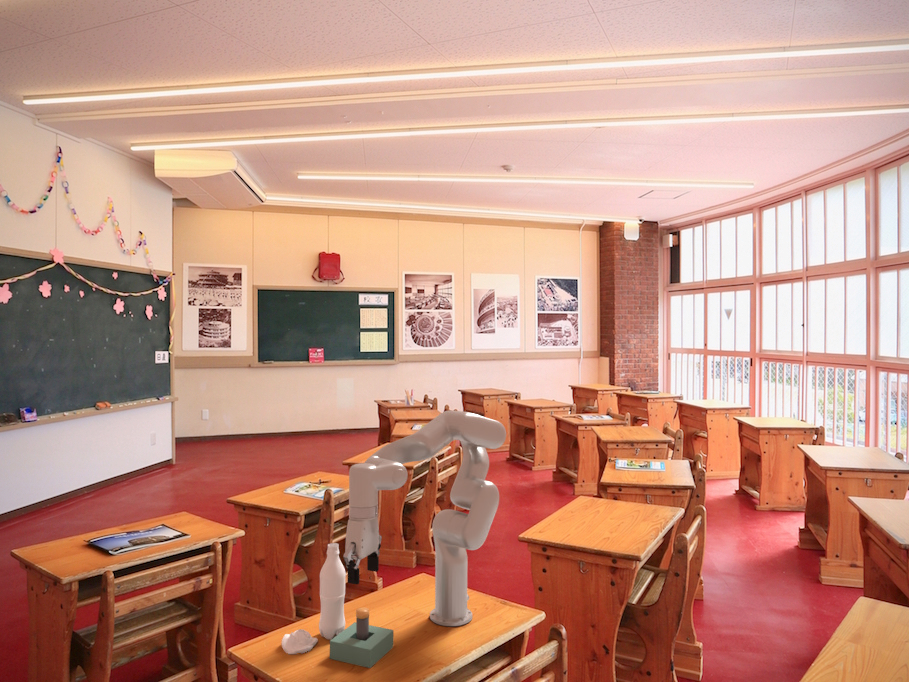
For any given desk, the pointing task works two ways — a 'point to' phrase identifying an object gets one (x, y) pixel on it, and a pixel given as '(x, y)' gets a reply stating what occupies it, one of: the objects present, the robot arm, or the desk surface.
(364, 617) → the round peg
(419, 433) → the robot arm
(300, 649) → the rose
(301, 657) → the desk surface
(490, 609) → the desk surface
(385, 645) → the socket block
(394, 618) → the desk surface
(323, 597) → the water bottle
